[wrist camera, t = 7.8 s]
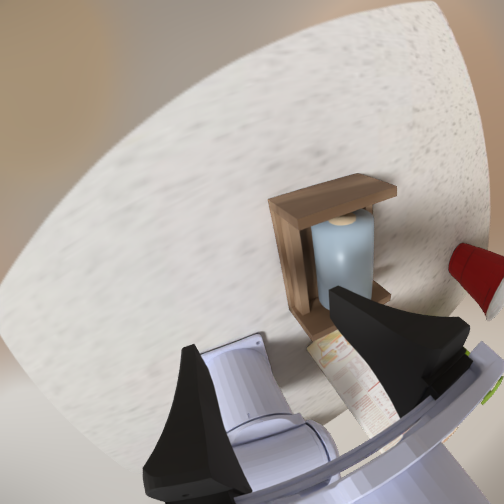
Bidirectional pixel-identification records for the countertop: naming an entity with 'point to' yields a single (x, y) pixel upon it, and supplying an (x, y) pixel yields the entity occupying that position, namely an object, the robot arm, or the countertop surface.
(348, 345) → the coffeecake box
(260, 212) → the countertop surface
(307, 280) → the holder
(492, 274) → the plastic cup
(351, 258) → the roll
